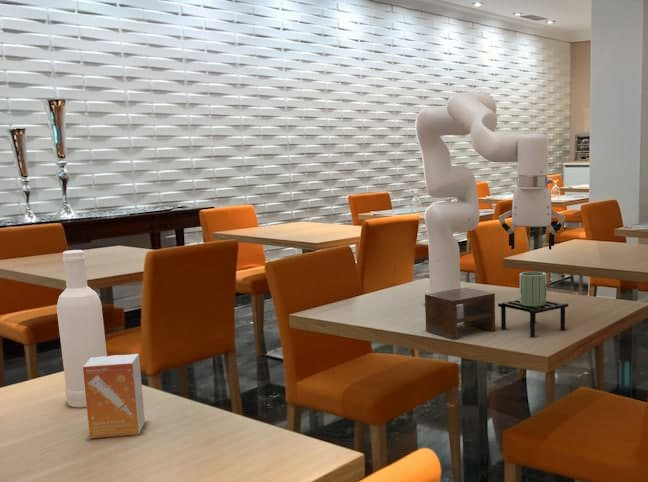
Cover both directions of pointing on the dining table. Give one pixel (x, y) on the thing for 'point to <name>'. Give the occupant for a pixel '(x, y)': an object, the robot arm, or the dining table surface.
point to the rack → (533, 312)
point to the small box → (114, 395)
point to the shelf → (459, 311)
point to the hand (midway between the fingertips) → (531, 248)
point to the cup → (533, 288)
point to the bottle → (78, 326)
